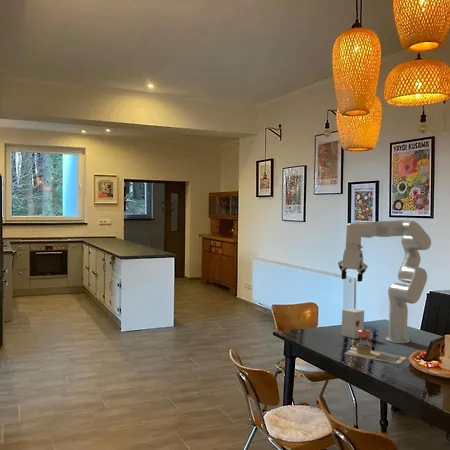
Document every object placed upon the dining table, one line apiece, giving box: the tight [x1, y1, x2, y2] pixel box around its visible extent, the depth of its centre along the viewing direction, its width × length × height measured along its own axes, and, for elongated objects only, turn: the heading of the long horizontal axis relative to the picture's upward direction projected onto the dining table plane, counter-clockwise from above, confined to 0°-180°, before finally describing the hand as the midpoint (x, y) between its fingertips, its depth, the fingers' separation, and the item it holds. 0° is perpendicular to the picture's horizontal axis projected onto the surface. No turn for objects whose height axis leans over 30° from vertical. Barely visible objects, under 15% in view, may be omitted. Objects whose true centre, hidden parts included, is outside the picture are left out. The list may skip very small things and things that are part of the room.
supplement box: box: [341, 307, 365, 339], centre depth 279 cm, size 9×9×15 cm
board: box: [344, 342, 408, 368], centre depth 238 cm, size 14×26×6 cm, turn 55°
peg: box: [357, 328, 372, 346], centre depth 241 cm, size 6×6×11 cm
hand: (351, 280), depth 255 cm, fingers open, 9 cm apart
